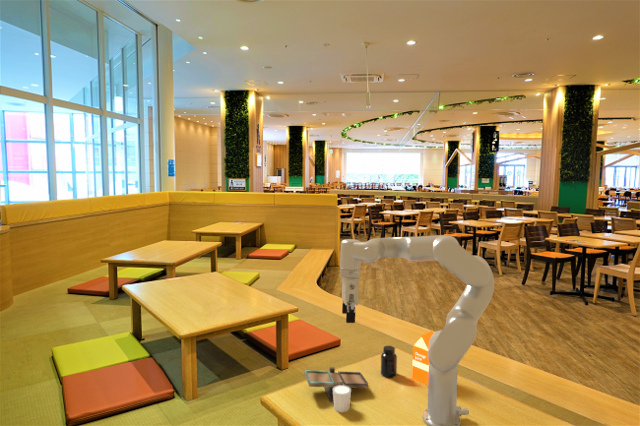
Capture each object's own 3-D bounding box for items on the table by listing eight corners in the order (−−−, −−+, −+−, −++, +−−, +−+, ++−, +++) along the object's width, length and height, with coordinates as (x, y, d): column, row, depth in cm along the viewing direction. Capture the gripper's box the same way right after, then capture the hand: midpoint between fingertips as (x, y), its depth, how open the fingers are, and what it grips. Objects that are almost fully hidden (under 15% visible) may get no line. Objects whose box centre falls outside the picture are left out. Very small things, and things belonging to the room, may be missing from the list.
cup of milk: (349, 414, 138) (349, 395, 137) (330, 412, 139) (331, 393, 139) (352, 403, 144) (352, 385, 144) (334, 401, 146) (334, 383, 145)
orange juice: (412, 378, 163) (413, 333, 162) (423, 372, 169) (424, 328, 168) (428, 386, 158) (429, 338, 156) (439, 378, 164) (440, 333, 162)
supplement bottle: (378, 371, 170) (378, 345, 169) (391, 369, 172) (392, 343, 171) (385, 379, 163) (385, 351, 162) (399, 377, 165) (400, 349, 164)
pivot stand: (340, 380, 162) (340, 365, 161) (350, 399, 147) (351, 383, 147) (321, 382, 160) (321, 367, 160) (330, 401, 146) (330, 385, 145)
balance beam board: (359, 375, 161) (360, 372, 161) (368, 388, 151) (368, 384, 151) (304, 374, 156) (304, 370, 156) (308, 386, 146) (309, 382, 146)
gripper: (364, 278, 134) (362, 326, 135) (355, 267, 151) (354, 310, 152) (343, 278, 133) (341, 326, 134) (336, 267, 150) (335, 310, 151)
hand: (348, 317), depth 143 cm, fingers open, 9 cm apart
